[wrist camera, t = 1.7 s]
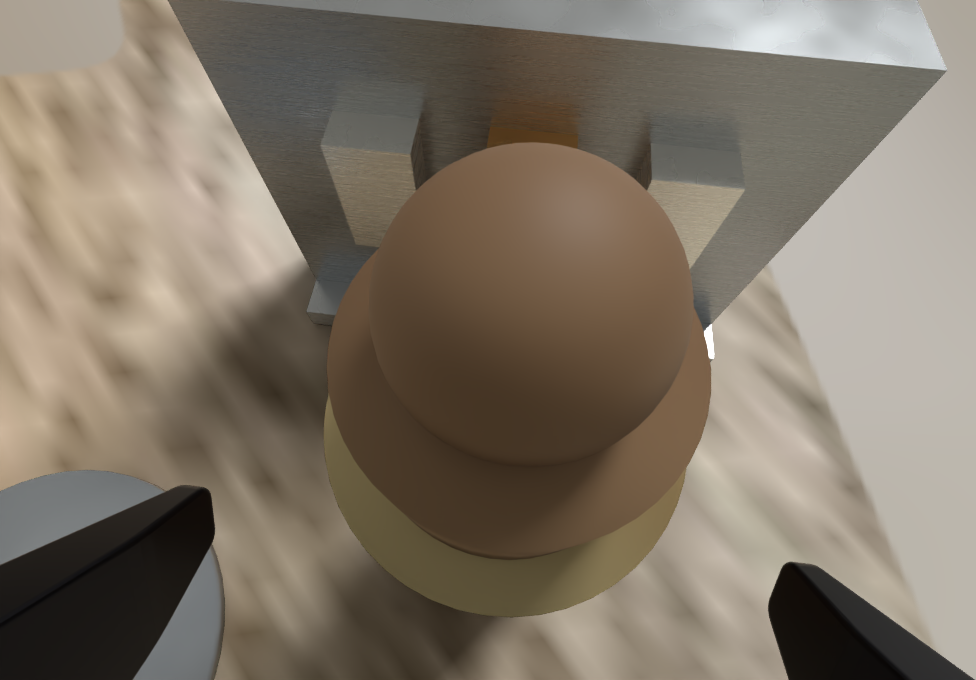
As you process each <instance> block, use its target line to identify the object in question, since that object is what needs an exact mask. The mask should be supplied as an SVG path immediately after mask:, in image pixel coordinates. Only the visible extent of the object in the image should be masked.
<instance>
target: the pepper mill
mask: <svg viewBox="0 0 976 680" xmlns="http://www.w3.org/2000/svg"><path fill="white" fill-rule="evenodd" d="M693 300H694V294H693V287H692V280H691V274H690V268H689V264H688V260H687V257H686V253H685V250H684V247H683V245H682V243H681V241H680V239H679V236H678V234H677V232H676V230H675V228H674V226H673V224H672V222H671V221H670V219H669V218H668V216H667V214H666V213H665V211H664V210H663V208H662V207H661V206H660V205H659V203H658V202H657V201H656V200H655V199H654V197H653V196H652V195H651V194H650V193H649V192H648V191H647V190H646V189H645V188H643V187H642V186H641V185H640V184H639V183H638V182H637V181H636V180H635V179H634V178H633V177H631V176H630V175H629V174H627V173H626V172H625V171H623V170H622V169H620V168H619V167H617V166H615V165H614V164H612V163H610V162H608V161H606V160H604V159H602V158H600V157H598V156H596V155H593V154H591V153H588V152H585V151H582V150H579V149H575V148H571V147H568V146H563V145H557V144H550V143H535V142H530V143H513V144H506V145H500V146H496V147H492V148H487V149H484V150H482V151H479V152H476V153H473V154H471V155H469V156H466V157H464V158H462V159H460V160H458V161H456V162H454V163H452V164H450V165H448V166H447V167H445V168H444V169H442V170H440V171H439V172H437V173H436V174H435V175H433V176H432V177H431V178H430V179H429V180H427V181H426V182H425V183H424V184H423V185H422V186H421V187H420V188H418V189H417V190H416V191H415V193H414V194H413V195H412V196H411V197H410V198H409V199H408V200H407V201H406V202H405V203H404V205H403V206H402V208H401V209H400V210H399V212H398V213H397V214H396V216H395V218H394V219H393V221H392V223H391V224H390V226H389V228H388V230H387V232H386V234H385V236H384V237H383V239H382V242H381V244H380V247H379V249H378V250H377V251H376V252H375V253H374V254H373V255H372V256H371V257H370V258H369V259H368V260H367V261H366V263H365V264H364V265H363V266H362V268H361V269H360V270H359V272H358V273H357V275H356V276H355V277H354V279H353V280H352V282H351V283H350V285H349V287H348V289H347V291H346V293H345V295H344V296H343V298H342V300H341V302H340V305H339V308H338V310H337V313H336V316H335V318H334V321H333V325H332V330H331V334H330V339H329V343H328V355H327V381H328V392H329V395H328V400H327V405H326V410H325V421H324V449H325V460H326V465H327V470H328V475H329V480H330V484H331V486H332V489H333V492H334V495H335V498H336V500H337V503H338V506H339V508H340V510H341V512H342V514H343V516H344V517H345V519H346V521H347V523H348V525H349V527H350V529H351V530H352V532H353V533H354V534H355V536H356V537H357V539H358V540H359V541H360V543H361V544H362V545H363V547H364V548H365V550H366V551H367V552H368V553H369V554H370V555H371V556H372V557H373V558H374V559H375V560H376V561H377V562H378V563H379V564H380V565H381V566H382V567H383V568H384V569H385V570H386V571H387V572H389V573H390V574H391V575H392V576H394V577H395V578H396V579H398V580H399V581H400V582H402V583H403V584H404V585H406V586H407V587H409V588H411V589H412V590H414V591H416V592H418V593H420V594H421V595H423V596H425V597H427V598H428V599H430V600H433V601H435V602H438V603H441V604H443V605H446V606H449V607H451V608H454V609H457V610H461V611H466V612H470V613H475V614H479V615H484V616H499V617H522V616H534V615H542V614H546V613H550V612H554V611H558V610H563V609H567V608H569V607H572V606H574V605H576V604H579V603H581V602H584V601H586V600H589V599H591V598H593V597H595V596H596V595H598V594H600V593H601V592H603V591H605V590H607V589H608V588H610V587H612V586H613V585H615V584H616V583H617V582H619V581H620V580H621V579H622V578H623V577H625V576H626V575H627V574H628V573H629V572H631V571H632V570H633V569H634V568H635V567H636V566H637V565H638V564H639V563H640V562H641V561H642V560H643V559H644V557H645V556H646V555H647V554H648V553H649V552H650V551H651V550H652V549H653V547H654V546H655V544H656V543H657V541H658V539H659V538H660V536H661V535H662V533H663V532H664V530H665V529H666V527H667V525H668V523H669V521H670V519H671V517H672V515H673V512H674V510H675V508H676V506H677V503H678V500H679V497H680V494H681V490H682V487H683V484H684V479H685V473H686V467H687V465H688V464H689V462H690V460H691V458H692V456H693V454H694V452H695V450H696V448H697V446H698V444H699V442H700V439H701V436H702V433H703V430H704V426H705V423H706V420H707V416H708V410H709V403H710V396H711V366H710V359H709V352H708V346H707V342H706V339H705V335H704V332H703V328H702V325H701V322H700V320H699V318H698V315H697V313H696V311H695V308H694V306H693Z"/></svg>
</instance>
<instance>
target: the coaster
mask: <svg viewBox="0 0 976 680" xmlns="http://www.w3.org/2000/svg"><path fill="white" fill-rule="evenodd" d="M163 492H166V491H165V490H163V489H162V488H160V487H158V486H156V485H154V484H151V483H149V482H146V481H143V480H141V479H138V478H135V477H131V476H128V475H123V474H118V473H113V472H109V471H94V470H82V471H66V472H61V473H55V474H50V475H45V476H41V477H38V478H34V479H31V480H28V481H25V482H21V483H19V484H16V485H14V486H12V487H9V488H7V489H4V490H2V491H0V565H1V564H3V563H5V562H7V561H10V560H12V559H14V558H17V557H19V556H21V555H23V554H26V553H28V552H30V551H32V550H35V549H37V548H39V547H41V546H44V545H46V544H48V543H50V542H53V541H55V540H57V539H59V538H62V537H64V536H66V535H69V534H71V533H73V532H75V531H78V530H80V529H82V528H84V527H87V526H89V525H91V524H93V523H96V522H98V521H100V520H102V519H105V518H107V517H109V516H111V515H114V514H116V513H118V512H121V511H123V510H125V509H127V508H130V507H132V506H134V505H136V504H139V503H141V502H143V501H145V500H148V499H150V498H152V497H154V496H157V495H159V494H161V493H163ZM224 623H225V597H224V588H223V579H222V574H221V570H220V566H219V562H218V558H217V555H216V553H215V550H214V548H213V545H212V544H211V546H210V548H209V550H208V552H207V554H206V556H205V557H204V559H203V561H202V563H201V565H200V567H199V568H198V570H197V572H196V574H195V576H194V578H193V579H192V581H191V583H190V585H189V587H188V589H187V590H186V592H185V594H184V596H183V598H182V600H181V601H180V603H179V605H178V607H177V609H176V611H175V612H174V614H173V616H172V618H171V620H170V622H169V623H168V625H167V627H166V629H165V630H164V632H163V634H162V636H161V637H160V639H159V641H158V642H157V644H156V645H155V647H154V648H153V650H152V652H151V653H150V655H149V656H148V658H147V659H146V661H145V662H144V664H143V665H142V667H141V668H140V670H139V671H138V673H137V674H136V676H135V677H134V679H133V680H214V678H215V674H216V670H217V666H218V662H219V658H220V654H221V648H222V640H223V633H224Z"/></svg>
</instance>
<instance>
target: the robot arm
mask: <svg viewBox="0 0 976 680" xmlns="http://www.w3.org/2000/svg"><path fill="white" fill-rule="evenodd" d="M214 535H215V524H214V515H213V506H212V498H211V493H210V491H209V490H208V489H206V488H204V487H198V486H190V485H180V486H177V487H175V488H172V489H170V490H168V491H166V492H163V493H161V494H159V495H157V496H154V497H152V498H150V499H148V500H145V501H143V502H141V503H139V504H136V505H134V506H132V507H130V508H127V509H125V510H123V511H121V512H118V513H116V514H114V515H111V516H109V517H107V518H105V519H102V520H100V521H98V522H96V523H93V524H91V525H89V526H87V527H84V528H82V529H80V530H78V531H75V532H73V533H71V534H69V535H66V536H64V537H62V538H59V539H57V540H55V541H53V542H50V543H48V544H46V545H44V546H41V547H39V548H37V549H35V550H32V551H30V552H28V553H26V554H23V555H21V556H19V557H17V558H14V559H12V560H10V561H7V562H5V563H3V564H1V565H0V680H133V679H134V677H135V676H136V674H137V673H138V671H139V670H140V668H141V667H142V665H143V664H144V662H145V661H146V659H147V658H148V656H149V655H150V653H151V652H152V650H153V648H154V647H155V645H156V644H157V642H158V641H159V639H160V637H161V636H162V634H163V632H164V630H165V629H166V627H167V625H168V623H169V622H170V620H171V618H172V616H173V614H174V612H175V611H176V609H177V607H178V605H179V603H180V601H181V600H182V598H183V596H184V594H185V592H186V590H187V589H188V587H189V585H190V583H191V581H192V579H193V578H194V576H195V574H196V572H197V570H198V568H199V567H200V565H201V563H202V561H203V559H204V557H205V556H206V554H207V552H208V550H209V548H210V546H211V544H212V542H213V539H214ZM768 613H769V618H770V622H771V625H772V628H773V631H774V634H775V638H776V641H777V644H778V647H779V650H780V654H781V657H782V660H783V663H784V666H785V669H786V673H787V676H788V679H789V680H974V679H973V678H972V677H970V676H969V675H967V674H966V673H965V672H963V671H962V670H961V669H959V668H957V667H956V666H955V665H954V664H952V663H951V662H949V661H948V660H947V659H945V658H944V657H943V656H941V655H940V654H938V653H937V652H936V651H934V650H933V649H932V648H930V647H929V646H927V645H926V644H925V643H923V642H922V641H920V640H919V639H918V638H916V637H915V636H914V635H912V634H911V633H909V632H908V631H907V630H905V629H904V628H902V627H901V626H900V625H898V624H897V623H896V622H894V621H893V620H891V619H890V618H889V617H887V616H886V615H884V614H883V613H882V612H880V611H879V610H878V609H876V608H875V607H873V606H872V605H871V604H869V603H868V602H867V601H865V600H864V599H862V598H861V597H860V596H858V595H857V594H855V593H854V592H853V591H851V590H850V589H849V588H847V587H846V586H844V585H843V584H842V583H840V582H839V581H838V580H836V579H835V578H833V577H832V576H831V575H829V574H828V573H826V572H825V571H824V570H822V569H821V568H819V567H818V566H816V565H812V564H806V563H798V562H787V563H786V564H784V565H783V567H782V569H781V571H780V574H779V576H778V579H777V581H776V584H775V586H774V589H773V591H772V594H771V597H770V599H769V604H768Z"/></svg>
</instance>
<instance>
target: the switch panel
mask: <svg viewBox="0 0 976 680" xmlns="http://www.w3.org/2000/svg"><path fill="white" fill-rule="evenodd" d="M168 2H169V4H170V5H171V7H172V9H173V11H174V13H175V15H176V17H177V19H178V20H179V22H180V24H181V26H182V28H183V30H184V32H185V34H186V36H187V37H188V39H189V41H190V43H191V45H192V47H193V49H194V51H195V52H196V54H197V56H198V58H199V60H200V62H201V64H202V66H203V67H204V69H205V71H206V73H207V75H208V77H209V79H210V81H211V83H212V84H213V86H214V88H215V90H216V92H217V94H218V96H219V98H220V99H221V101H222V103H223V105H224V107H225V109H226V111H227V113H228V114H229V116H230V118H231V120H232V122H233V124H234V126H235V128H236V130H237V131H238V133H239V135H240V137H241V139H242V141H243V143H244V145H245V146H246V148H247V150H248V152H249V154H250V156H251V158H252V160H253V161H254V163H255V165H256V167H257V169H258V171H259V173H260V175H261V177H262V178H263V180H264V182H265V184H266V186H267V188H268V190H269V192H270V193H271V195H272V197H273V199H274V201H275V203H276V205H277V207H278V208H279V210H280V212H281V214H282V216H283V218H284V220H285V222H286V224H287V225H288V227H289V229H290V231H291V233H292V235H293V237H294V239H295V240H296V242H297V244H298V246H299V248H300V250H301V252H302V254H303V255H304V257H305V259H306V261H307V263H308V265H309V267H310V269H311V271H312V272H313V274H314V276H315V278H316V282H315V286H314V289H313V292H312V295H311V298H310V302H309V305H308V308H307V311H306V312H307V314H308V315H309V317H310V318H311V320H312V321H313V323H315V324H324V325H333V321H334V318H335V316H336V313H337V310H338V308H339V305H340V302H341V300H342V298H343V296H344V295H345V293H346V291H347V289H348V287H349V285H350V283H351V282H352V280H353V279H354V277H355V276H356V275H357V273H358V272H359V270H360V269H361V268H362V266H363V265H364V264H365V263H366V261H367V260H368V259H369V258H370V257H371V256H372V255H373V254H374V253H375V252H376V251H377V250H378V249H379V247H380V244H381V242H382V239H383V237H384V236H385V234H386V232H387V230H388V228H389V226H390V224H391V223H392V221H393V219H394V218H395V216H396V214H397V213H398V212H399V210H400V209H401V208H402V206H403V205H404V203H405V202H406V201H407V200H408V199H409V198H410V197H411V196H412V195H413V194H414V193H415V191H416V190H417V189H418V188H420V187H421V186H422V185H423V184H424V183H425V182H426V181H427V180H429V179H430V178H431V177H432V176H433V175H435V174H436V173H437V172H439V171H440V170H442V169H444V168H445V167H447V166H448V165H450V164H452V163H454V162H456V161H458V160H460V159H462V158H464V157H466V156H469V155H471V154H473V153H476V152H479V151H482V150H484V149H487V148H492V147H496V146H500V145H506V144H513V143H530V142H535V143H550V144H557V145H563V146H568V147H571V148H575V149H579V150H582V151H585V152H588V153H591V154H593V155H596V156H598V157H600V158H602V159H604V160H606V161H608V162H610V163H612V164H614V165H615V166H617V167H619V168H620V169H622V170H623V171H625V172H626V173H627V174H629V175H630V176H631V177H633V178H634V179H635V180H636V181H637V182H638V183H639V184H640V185H641V186H642V187H643V188H645V189H646V190H647V191H648V192H649V193H650V194H651V195H652V196H653V197H654V199H655V200H656V201H657V202H658V203H659V205H660V206H661V207H662V208H663V210H664V211H665V213H666V214H667V216H668V218H669V219H670V221H671V222H672V224H673V226H674V228H675V230H676V232H677V234H678V236H679V239H680V241H681V243H682V245H683V247H684V250H685V253H686V257H687V260H688V264H689V268H690V274H691V280H692V287H693V294H694V300H693V306H694V308H695V311H696V313H697V315H698V318H699V320H700V322H701V325H702V328H703V332H704V335H705V339H706V342H707V346H708V352H709V359H710V362H711V361H712V360H713V359H714V351H713V340H712V328H711V324H712V323H713V322H714V321H715V319H716V318H717V317H718V316H719V315H720V314H721V313H722V312H723V311H724V310H725V309H726V308H727V307H728V306H729V304H730V303H731V302H732V301H733V300H734V299H735V298H736V297H737V296H738V295H739V294H740V293H741V292H742V290H743V289H744V288H745V287H746V286H747V285H748V284H749V283H750V282H751V281H752V280H753V279H754V278H755V277H756V275H757V274H758V273H759V272H760V271H761V270H762V269H763V268H764V267H765V266H766V265H767V264H768V263H769V261H770V260H771V259H772V258H773V257H774V256H775V255H776V254H777V253H778V252H779V251H780V250H781V249H782V248H783V246H784V245H785V244H786V243H787V242H788V241H789V240H790V239H791V238H792V237H793V235H794V234H795V233H796V232H797V231H798V230H799V229H800V228H801V227H802V226H803V225H804V224H805V223H806V222H807V221H808V220H809V218H810V217H811V216H812V215H813V214H814V213H815V212H816V211H817V210H818V209H819V208H820V207H821V205H823V203H824V202H825V201H826V200H827V199H828V198H829V197H830V196H831V195H832V194H833V193H834V192H835V190H836V189H837V188H838V187H839V186H840V185H841V184H842V183H843V182H844V181H845V180H846V179H847V178H848V177H849V176H850V174H851V173H852V172H853V171H854V170H855V169H856V168H857V167H858V166H859V165H860V164H861V163H862V162H863V160H864V159H865V158H866V157H867V156H868V155H869V154H870V153H871V152H872V151H873V150H874V148H876V146H877V145H878V144H879V143H880V142H881V141H882V140H883V139H884V138H885V137H886V136H887V135H888V134H889V132H890V131H891V130H892V129H893V128H894V127H895V126H896V125H897V124H898V123H899V122H900V121H901V120H902V118H903V117H904V116H905V115H906V114H907V113H908V112H909V111H910V110H911V109H912V108H913V107H914V106H915V105H916V104H917V102H918V101H919V100H920V99H921V98H922V97H923V96H924V95H925V94H926V93H927V92H928V91H929V90H930V88H931V87H932V86H933V85H934V84H935V83H936V82H937V81H938V80H939V79H940V78H941V77H942V76H943V74H944V73H945V72H946V71H947V69H946V66H945V64H944V62H943V59H942V57H941V55H940V52H939V50H938V48H937V45H936V43H935V41H934V38H933V36H932V33H931V31H930V29H929V26H928V24H927V22H926V19H925V17H924V15H923V12H922V10H921V8H920V5H919V3H918V1H917V0H168Z"/></svg>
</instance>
